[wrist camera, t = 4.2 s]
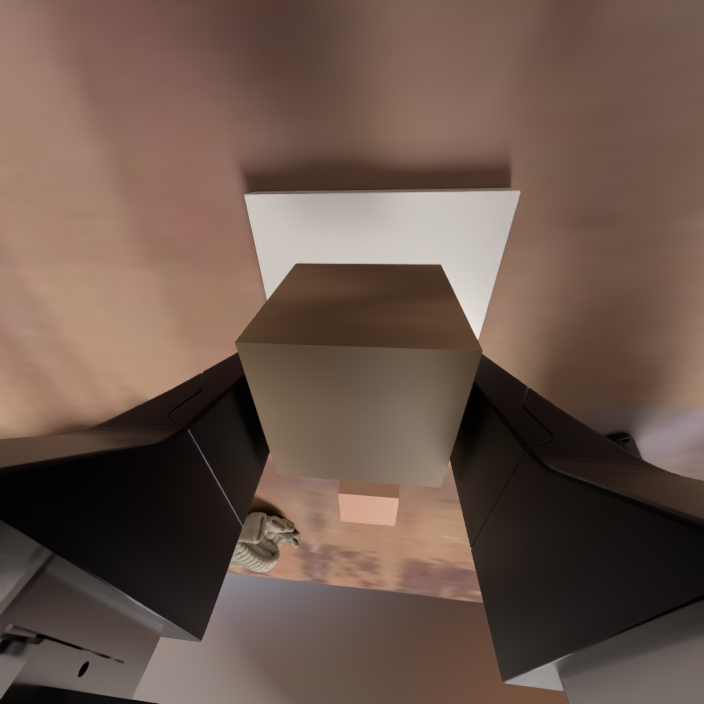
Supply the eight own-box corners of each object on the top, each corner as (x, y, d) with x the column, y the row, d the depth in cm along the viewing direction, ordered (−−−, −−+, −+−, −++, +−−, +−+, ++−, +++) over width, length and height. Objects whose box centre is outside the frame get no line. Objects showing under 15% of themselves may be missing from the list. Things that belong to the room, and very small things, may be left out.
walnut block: (441, 264, 9) (482, 351, 5) (422, 376, 11) (440, 487, 8) (295, 263, 9) (235, 342, 5) (311, 372, 12) (277, 474, 8)
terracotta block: (396, 446, 24) (398, 498, 21) (393, 475, 27) (394, 525, 23) (345, 442, 25) (338, 493, 21) (346, 471, 27) (341, 521, 24)
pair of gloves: (18, 445, 34) (-34, 488, 30) (174, 401, 26) (134, 450, 22) (188, 548, 49) (169, 586, 45) (317, 539, 42) (309, 583, 38)
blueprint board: (434, 474, 28) (436, 487, 27) (307, 464, 29) (304, 477, 28) (511, 187, 14) (522, 191, 13) (253, 191, 15) (242, 195, 14)
